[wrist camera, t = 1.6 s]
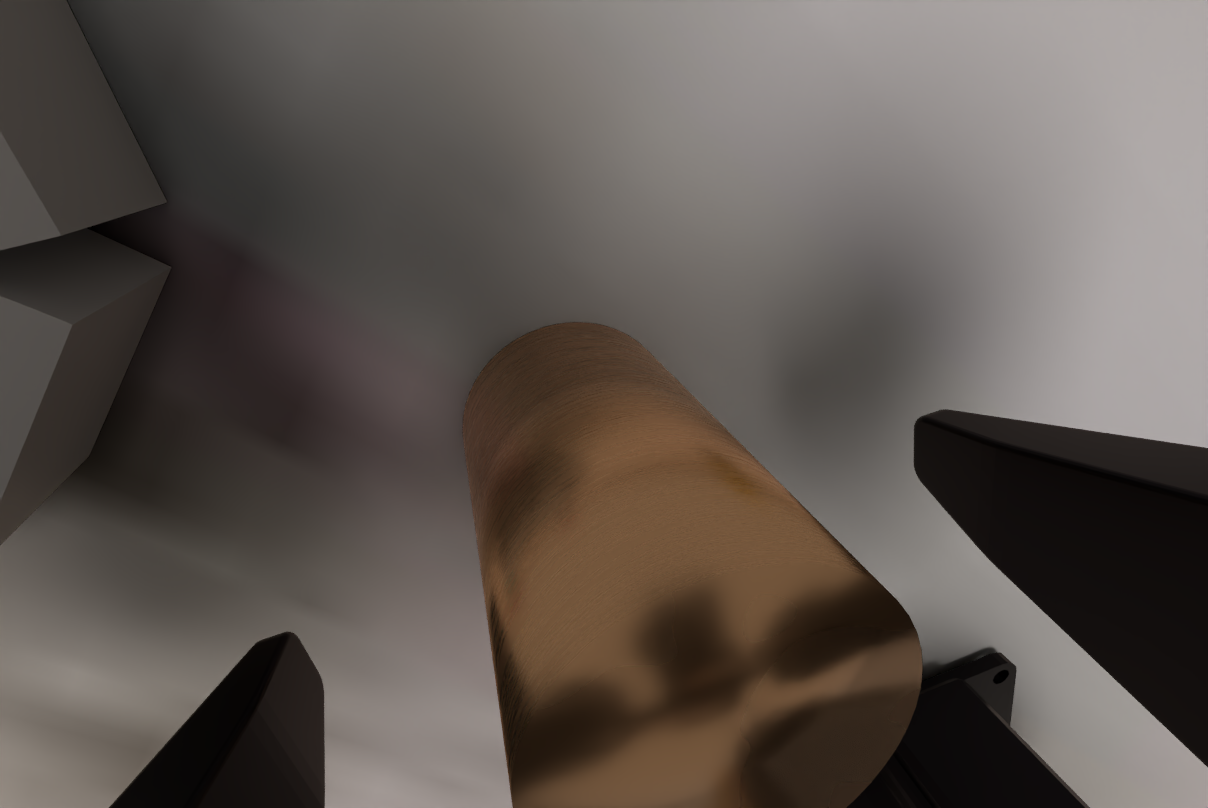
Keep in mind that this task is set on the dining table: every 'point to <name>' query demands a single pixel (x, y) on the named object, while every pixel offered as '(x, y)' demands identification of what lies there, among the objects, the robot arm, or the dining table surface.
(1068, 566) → the robot arm
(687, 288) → the dining table surface
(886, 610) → the pipe stub
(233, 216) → the dining table surface
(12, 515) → the valve fitting
